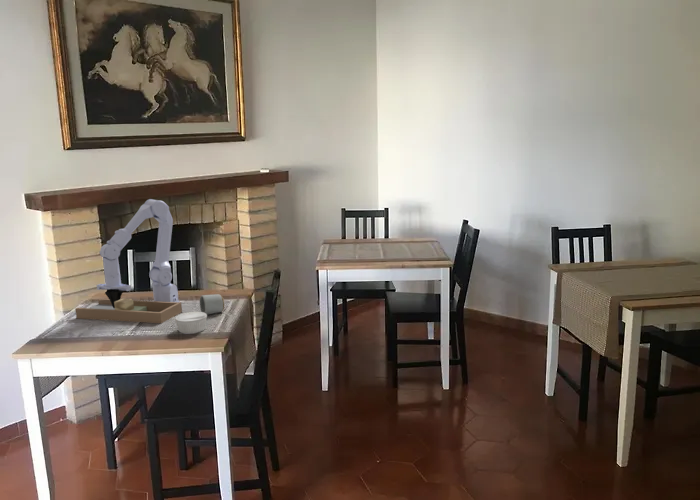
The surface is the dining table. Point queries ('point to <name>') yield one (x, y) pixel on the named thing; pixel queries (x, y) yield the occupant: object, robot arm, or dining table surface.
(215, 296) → the ceramic mug
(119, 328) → the dining table surface
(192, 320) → the ramekin
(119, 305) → the wood block
